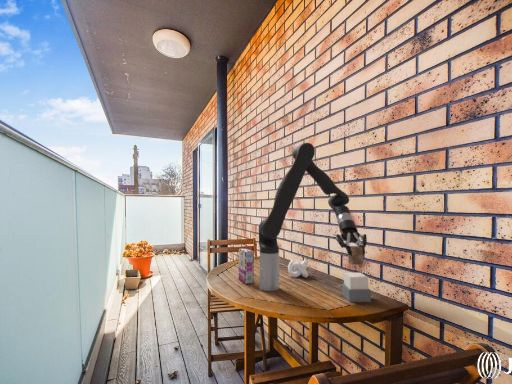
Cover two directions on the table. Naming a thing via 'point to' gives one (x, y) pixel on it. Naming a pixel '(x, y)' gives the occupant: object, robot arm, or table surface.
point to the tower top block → (356, 280)
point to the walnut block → (356, 256)
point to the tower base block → (356, 294)
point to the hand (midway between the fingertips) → (357, 254)
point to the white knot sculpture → (298, 268)
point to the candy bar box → (246, 266)
